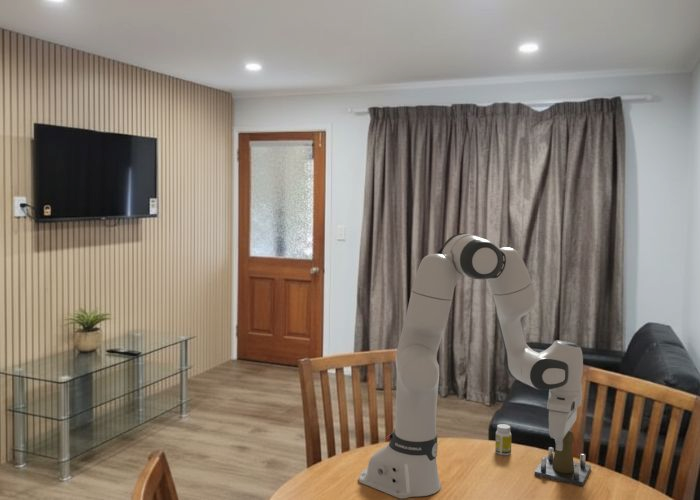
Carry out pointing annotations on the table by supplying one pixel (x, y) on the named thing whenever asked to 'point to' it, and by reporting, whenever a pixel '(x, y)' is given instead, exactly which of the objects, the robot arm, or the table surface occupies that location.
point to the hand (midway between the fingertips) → (562, 444)
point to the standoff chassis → (572, 478)
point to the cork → (564, 456)
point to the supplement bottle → (503, 440)
